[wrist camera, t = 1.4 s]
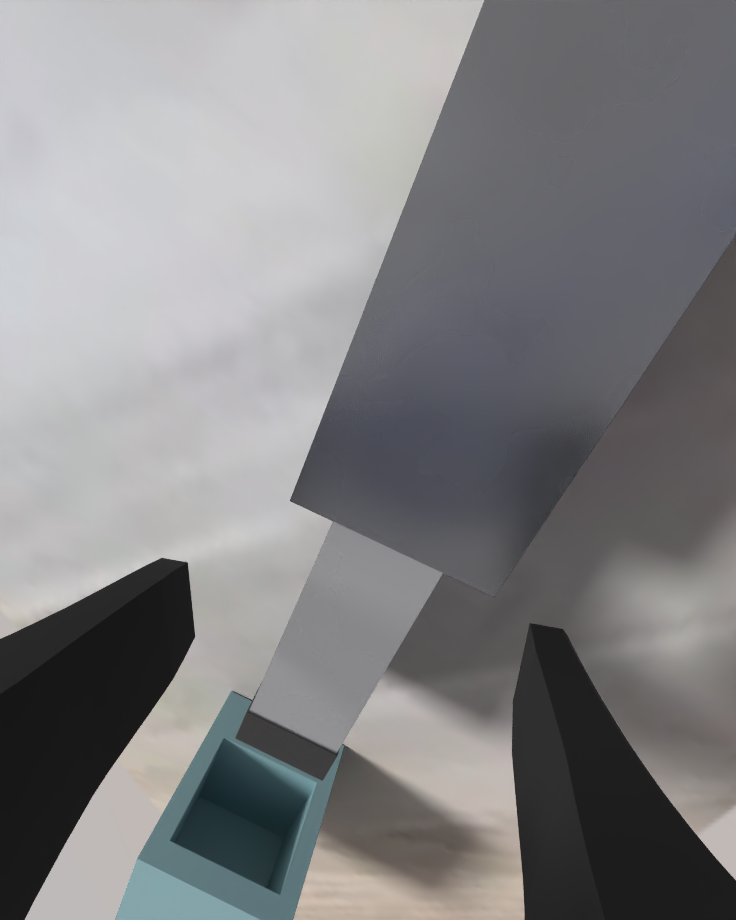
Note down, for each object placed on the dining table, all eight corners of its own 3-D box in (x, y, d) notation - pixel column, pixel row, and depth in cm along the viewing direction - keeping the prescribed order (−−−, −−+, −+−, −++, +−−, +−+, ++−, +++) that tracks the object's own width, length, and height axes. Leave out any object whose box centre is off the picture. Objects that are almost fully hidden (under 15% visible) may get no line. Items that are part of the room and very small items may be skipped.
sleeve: (721, 84, 12) (905, -22, 6) (496, 469, 16) (494, 597, 11) (529, -1, 12) (550, -172, 7) (359, 405, 16) (290, 500, 11)
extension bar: (672, 130, 10) (723, 105, 8) (346, 704, 18) (322, 780, 16) (536, 70, 10) (547, 28, 8) (270, 667, 18) (234, 738, 16)
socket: (344, 745, 22) (288, 933, 17) (304, 812, 25) (243, 998, 19) (231, 691, 22) (137, 858, 17) (202, 762, 25) (110, 931, 19)
